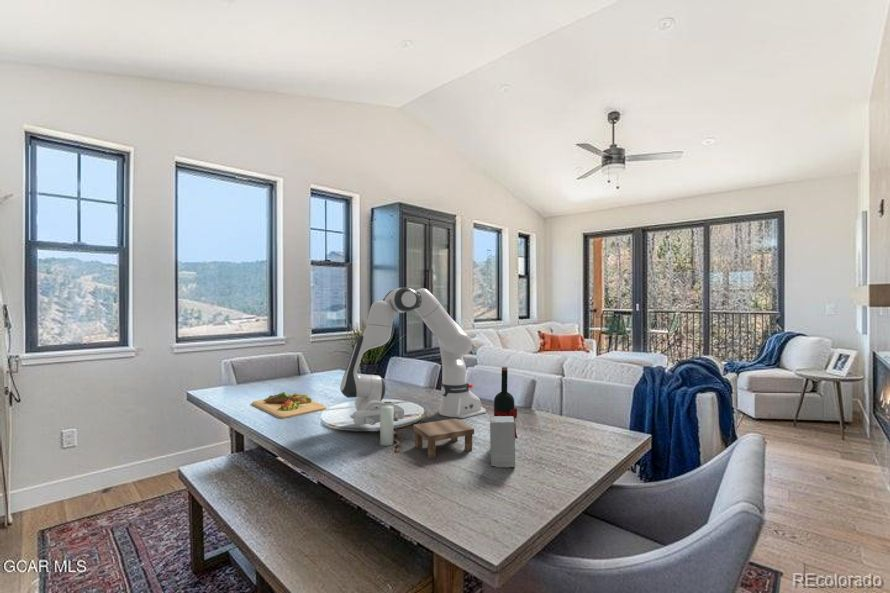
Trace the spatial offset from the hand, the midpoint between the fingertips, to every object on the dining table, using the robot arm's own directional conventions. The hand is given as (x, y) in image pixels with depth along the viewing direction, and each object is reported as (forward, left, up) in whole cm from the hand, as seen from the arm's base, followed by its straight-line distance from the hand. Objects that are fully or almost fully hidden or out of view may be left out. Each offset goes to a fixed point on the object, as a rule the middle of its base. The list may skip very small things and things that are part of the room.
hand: (385, 421), depth 170 cm
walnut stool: (-17, +16, -8) cm, 24 cm away
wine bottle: (-38, +26, -8) cm, 47 cm away
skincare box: (-28, +38, -8) cm, 48 cm away
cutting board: (+26, -67, -9) cm, 72 cm away
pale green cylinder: (0, +2, -8) cm, 8 cm away
